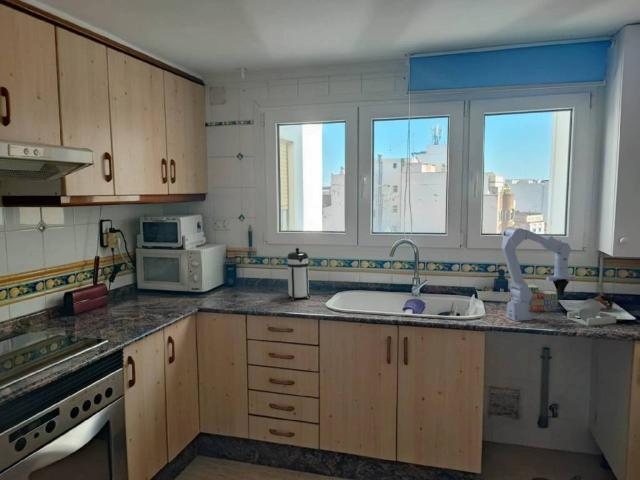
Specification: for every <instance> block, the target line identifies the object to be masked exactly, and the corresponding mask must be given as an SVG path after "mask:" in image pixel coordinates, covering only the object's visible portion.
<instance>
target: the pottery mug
mask: <svg viewBox="0 0 640 480" xmlns="http://www.w3.org/2000/svg"><path fill="white" fill-rule="evenodd" d="M589 299H594V300H596V301H598V302H599V303H600V305H601V304H602V305H603V306H604V307H605V309H604V311H605V310H609V311H610V310H612V309H613V305H614V301H613V300H612V299H611V298H609V297H608V296H606V295H602V294H599V295H598V296H595V297H592V298H589Z"/></svg>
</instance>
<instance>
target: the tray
mask: <svg viewBox="0 0 640 480" xmlns="http://www.w3.org/2000/svg"><path fill="white" fill-rule="evenodd" d="M575 316H578V310H576V311H567V313H566V318H567V320H568V319H569V320H571V321H573V322H576V323H579V324H582V325H585V326H587V327H591V326H592V327H593V326H601V325H611V324H616V323H617V316H615V315H612V314H610V313H606V312H603V311H600V312H599V313H598V315H597V316H600V317H601V318H591V319H587V321H584V320H582V319H577V318H574V317H575Z"/></svg>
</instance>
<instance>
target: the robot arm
mask: <svg viewBox="0 0 640 480" xmlns="http://www.w3.org/2000/svg"><path fill="white" fill-rule="evenodd" d="M501 235H502V242H501V251H502V255H503V257H504V260H505V264H506V267H507V271H508V274H509V277H510V280H511V283H509V287H510V290H509V292H510V296H511V295H512V296H513V300H512V301H511V300H510V301H507V303H506V315H505V317H506V318H507V319H509V320H512V321H514V322H520V321H529V320H530V321H531V320H534V319H533V317H530V311H529V301H530V299H531V298H532V291H531V290H530V289H529V287H528V285H529V284H528V283H527V282H526V281H525V280H524V276H523V273H522V270H521V267H520V262H519V260H518V256H517V254H516V253H517V252H516V249H517V247H518V246H519V245H520V244H521V243H522V242H524V240H525V241H527V240H530V241H533V242H536V243H538V244H540V246H541V247H542V248H543V249H545V250H548V251H551V252H553V253H554V267H553V268H554V269H553V275H550V276H546V277H545V278H546V282H552V283H553V285H554V286H555V289H556V293H557V294H558V296H563V295H564V292H565V291H566V287H567V286H568V285H569V282H570V281H569V280H576V275H574V274H569V273H568V272H569V267H568V266H569V257H570V254H571V252H572V248H571V245H570V244H569V243H567V242H563V241H562V240H561V239H556V238H554V236H553V235H546V236H541V235H539V234H537V233H535V232H533V231H532V230H528V229H523V228H521V227H520V228H518V227H513V226H508V227H506V228H505V229H504V231H503V232H502V233H501Z"/></svg>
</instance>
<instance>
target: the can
mask: <svg viewBox="0 0 640 480" xmlns="http://www.w3.org/2000/svg"><path fill="white" fill-rule="evenodd" d="M601 310H602V306H601V303H600V302H599V301H596V300H594V298H593V299H590V298H588V299H586V300H585V301H583V303H582V304H581V306H579V308H578V310H577V311H578V316H579V317H580V318H581V319H582V320H584V321H587V319H591V318H596V316H597V315H598V313H599V312H601Z"/></svg>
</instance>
